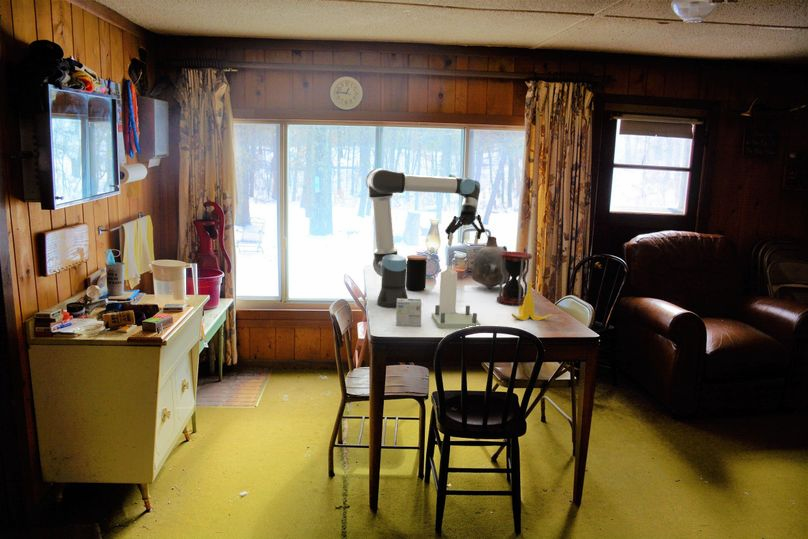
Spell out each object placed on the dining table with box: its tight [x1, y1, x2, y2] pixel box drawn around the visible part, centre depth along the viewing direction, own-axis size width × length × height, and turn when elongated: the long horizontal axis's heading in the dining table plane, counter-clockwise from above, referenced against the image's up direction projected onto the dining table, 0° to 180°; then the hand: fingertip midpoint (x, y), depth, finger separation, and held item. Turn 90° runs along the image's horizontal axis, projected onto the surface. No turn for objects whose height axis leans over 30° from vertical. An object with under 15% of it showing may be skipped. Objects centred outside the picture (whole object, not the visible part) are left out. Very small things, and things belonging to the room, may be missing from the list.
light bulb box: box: [395, 298, 423, 327], centre depth 273 cm, size 11×7×11 cm, turn 92°
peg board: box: [431, 304, 481, 329], centre depth 279 cm, size 18×18×6 cm
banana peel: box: [510, 282, 552, 321], centre depth 291 cm, size 16×19×17 cm
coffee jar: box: [405, 254, 428, 292], centre depth 345 cm, size 11×11×18 cm
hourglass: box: [496, 250, 533, 307], centre depth 323 cm, size 16×16×25 cm
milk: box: [438, 265, 458, 313], centre depth 296 cm, size 6×6×22 cm
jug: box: [471, 234, 508, 289], centre depth 355 cm, size 24×21×30 cm
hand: (462, 244), depth 311 cm, fingers open, 13 cm apart
